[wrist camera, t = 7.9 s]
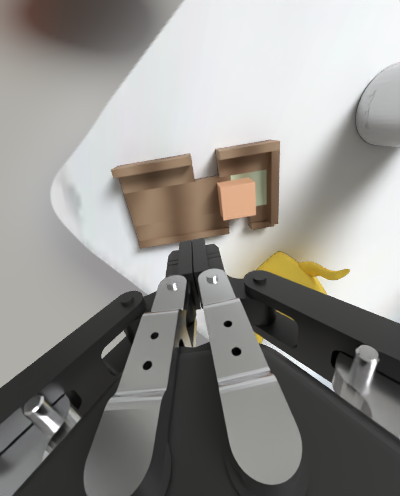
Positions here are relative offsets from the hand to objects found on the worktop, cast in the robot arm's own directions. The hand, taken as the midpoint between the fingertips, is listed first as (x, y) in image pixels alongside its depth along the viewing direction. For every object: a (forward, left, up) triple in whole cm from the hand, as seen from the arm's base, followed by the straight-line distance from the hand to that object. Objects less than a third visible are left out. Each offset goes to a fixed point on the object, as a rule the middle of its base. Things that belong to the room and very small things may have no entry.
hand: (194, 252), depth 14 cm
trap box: (-1, +2, -21) cm, 21 cm away
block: (-6, +3, -19) cm, 21 cm away
